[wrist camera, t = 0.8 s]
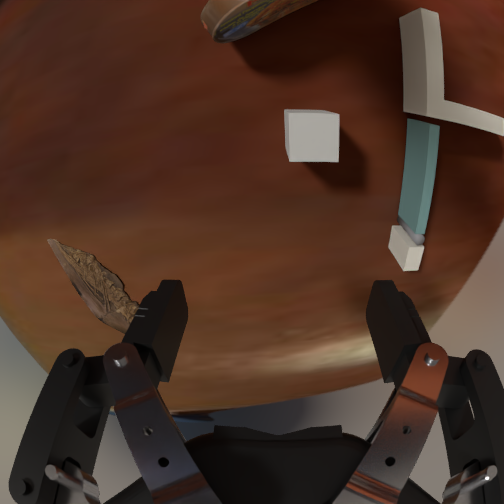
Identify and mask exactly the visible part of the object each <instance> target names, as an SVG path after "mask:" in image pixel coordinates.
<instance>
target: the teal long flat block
mask: <svg viewBox="0 0 504 504" xmlns="http://www.w3.org/2000/svg"><path fill="white" fill-rule="evenodd" d="M439 129H440V126H438V125H434V124H431V123H427V122H423V121H419V120H414V119H408V118H407V139H406V153H405V164H404V174H403V183H402V191H401V198H400V205H399V212H398V215H399V217H398V218H397V221H398V223H399V224H400V225H401V226H402V228H403V229H404V230H405V231H406V232H407V234H408V235H409V236H410V237H411V239H412V240H413V241H414V242H415V244H416V245H421V244H423V243H424V240H425V238H424V236H423V235H422V234H425V229H426V225H427V220H428V215H429V209H430V204H431V198H432V192H433V186H434V179H435V171H436V163H437V154H438V143H439Z"/></svg>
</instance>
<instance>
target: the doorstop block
mask: <svg viewBox="0 0 504 504" xmlns="http://www.w3.org/2000/svg"><path fill="white" fill-rule="evenodd" d="M284 114H285V145H286V150H287V154H288V157H289V161H290V162H338V161H339V114H336V113H332V112H328V111H324V110H284Z"/></svg>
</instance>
